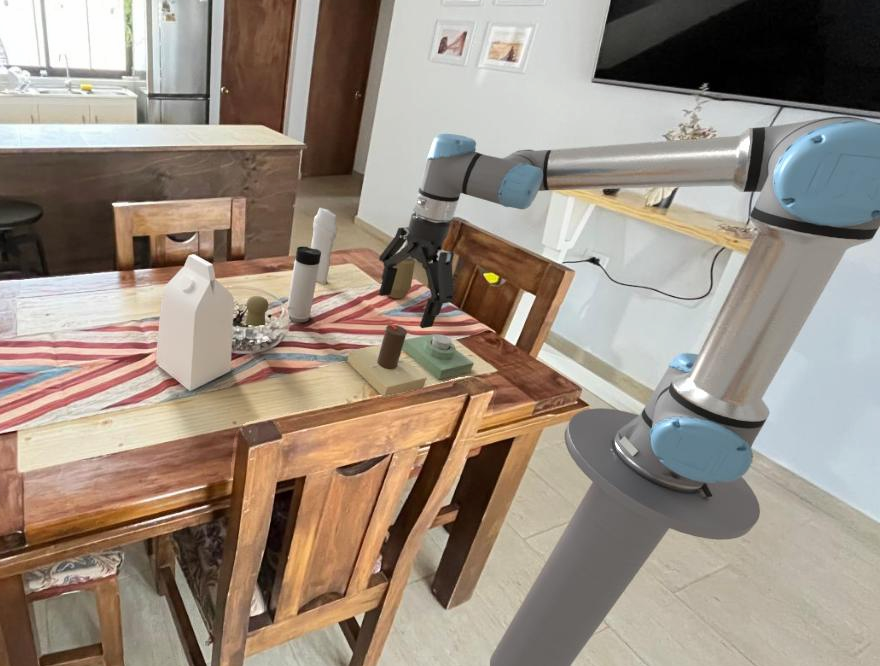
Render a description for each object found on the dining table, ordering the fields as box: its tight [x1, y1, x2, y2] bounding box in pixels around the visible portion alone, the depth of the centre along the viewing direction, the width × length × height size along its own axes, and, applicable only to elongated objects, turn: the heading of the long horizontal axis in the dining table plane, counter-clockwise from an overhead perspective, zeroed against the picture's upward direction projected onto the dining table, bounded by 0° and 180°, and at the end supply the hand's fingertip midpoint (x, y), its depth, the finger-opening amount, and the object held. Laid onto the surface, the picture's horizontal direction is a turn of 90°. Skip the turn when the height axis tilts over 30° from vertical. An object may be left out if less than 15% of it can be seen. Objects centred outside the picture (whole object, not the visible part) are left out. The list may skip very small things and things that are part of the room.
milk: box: [155, 253, 235, 392], centre depth 107 cm, size 12×12×26 cm
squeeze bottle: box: [386, 240, 416, 300], centre depth 151 cm, size 8×8×18 cm
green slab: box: [402, 333, 475, 380], centre depth 124 cm, size 13×10×4 cm
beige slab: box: [346, 343, 427, 397], centre depth 117 cm, size 14×11×3 cm
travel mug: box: [286, 246, 321, 323], centre depth 133 cm, size 6×7×20 cm
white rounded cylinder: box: [310, 207, 338, 285], centre depth 155 cm, size 11×4×22 cm, turn 29°
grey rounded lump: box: [432, 333, 452, 350], centre depth 123 cm, size 4×4×2 cm
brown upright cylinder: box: [377, 323, 408, 369], centre depth 114 cm, size 4×4×9 cm
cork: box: [244, 295, 269, 326], centre depth 124 cm, size 6×6×11 cm
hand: (404, 310), depth 110 cm, fingers open, 13 cm apart
